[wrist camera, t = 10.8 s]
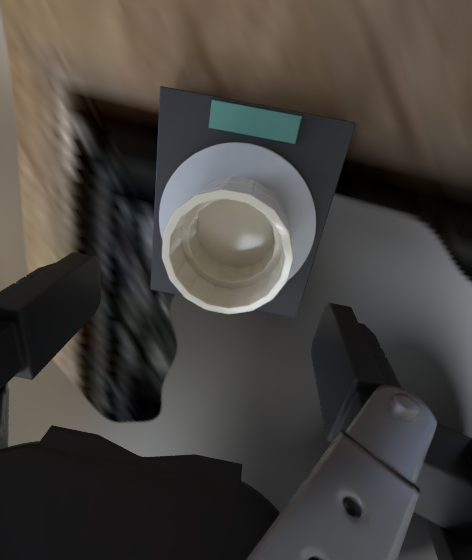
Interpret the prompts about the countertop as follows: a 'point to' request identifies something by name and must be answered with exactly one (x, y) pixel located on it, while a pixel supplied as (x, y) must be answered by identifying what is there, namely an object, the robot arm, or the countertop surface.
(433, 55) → the countertop surface
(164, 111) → the scale
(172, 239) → the white cup
